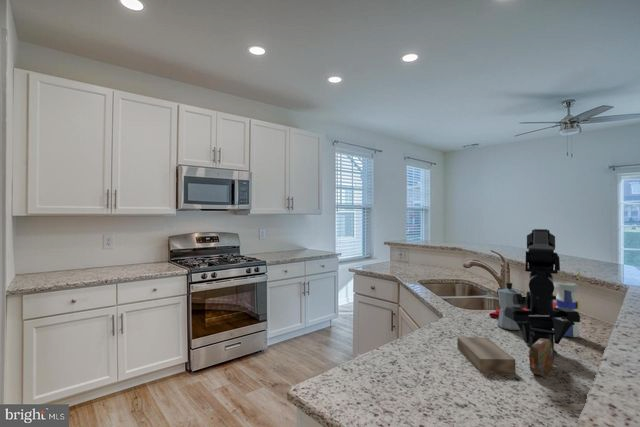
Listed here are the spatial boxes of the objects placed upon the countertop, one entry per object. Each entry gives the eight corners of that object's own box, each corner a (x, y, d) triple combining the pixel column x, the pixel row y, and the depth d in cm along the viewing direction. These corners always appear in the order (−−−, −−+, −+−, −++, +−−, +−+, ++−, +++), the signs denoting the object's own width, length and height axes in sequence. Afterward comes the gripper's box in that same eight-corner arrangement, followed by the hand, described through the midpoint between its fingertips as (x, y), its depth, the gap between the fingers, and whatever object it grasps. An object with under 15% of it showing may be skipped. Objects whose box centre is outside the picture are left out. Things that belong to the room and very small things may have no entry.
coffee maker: (529, 332, 127) (529, 286, 127) (507, 332, 127) (506, 286, 127) (508, 320, 142) (508, 278, 142) (488, 319, 142) (488, 278, 142)
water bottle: (577, 331, 128) (576, 267, 128) (583, 338, 120) (582, 271, 121) (551, 328, 132) (551, 266, 132) (555, 334, 124) (555, 269, 124)
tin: (540, 380, 90) (539, 350, 90) (527, 376, 92) (526, 346, 92) (555, 364, 100) (555, 336, 100) (543, 360, 102) (543, 334, 102)
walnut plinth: (487, 349, 111) (487, 337, 111) (515, 373, 94) (515, 359, 94) (457, 348, 111) (457, 337, 111) (480, 372, 94) (480, 358, 94)
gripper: (554, 285, 104) (555, 334, 104) (495, 284, 104) (495, 333, 104) (581, 293, 93) (582, 348, 92) (514, 292, 93) (515, 347, 93)
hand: (541, 343), depth 96 cm, fingers open, 8 cm apart
